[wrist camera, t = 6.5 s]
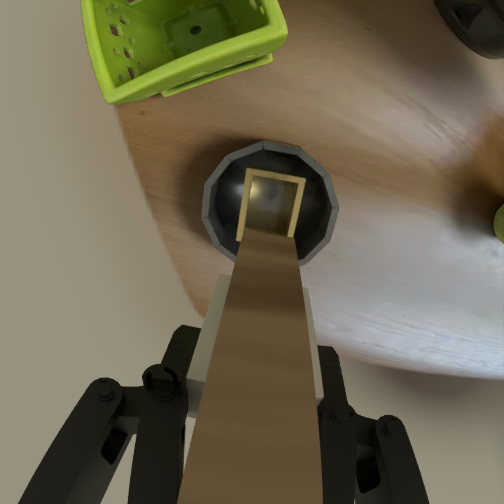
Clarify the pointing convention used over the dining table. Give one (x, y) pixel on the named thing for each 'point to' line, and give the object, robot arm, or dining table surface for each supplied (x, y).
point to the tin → (270, 198)
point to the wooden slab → (258, 389)
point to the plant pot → (499, 223)
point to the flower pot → (177, 43)
